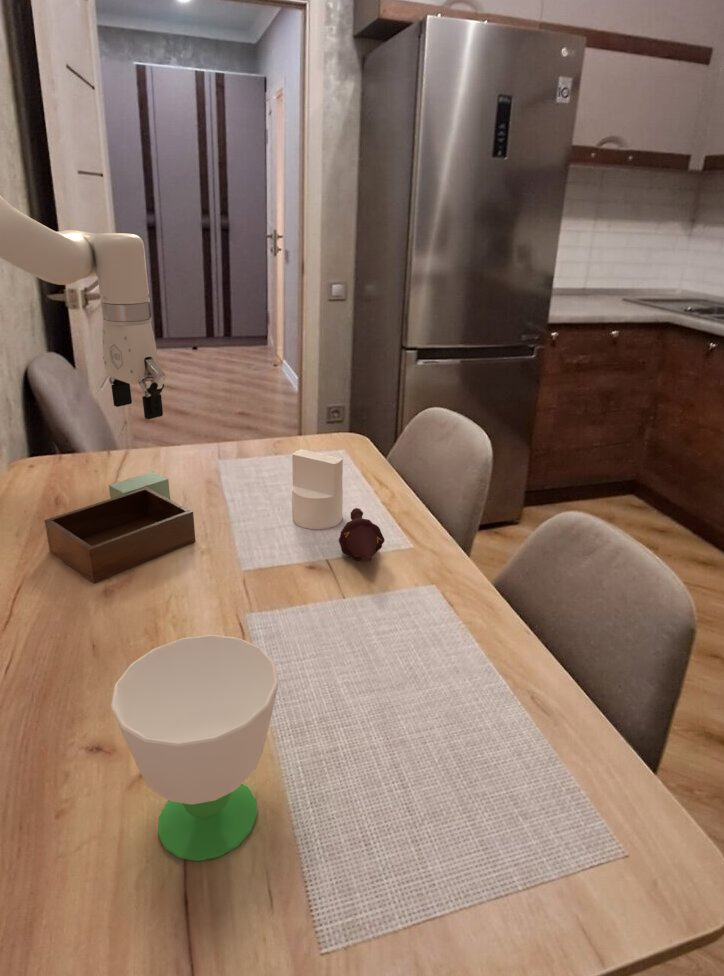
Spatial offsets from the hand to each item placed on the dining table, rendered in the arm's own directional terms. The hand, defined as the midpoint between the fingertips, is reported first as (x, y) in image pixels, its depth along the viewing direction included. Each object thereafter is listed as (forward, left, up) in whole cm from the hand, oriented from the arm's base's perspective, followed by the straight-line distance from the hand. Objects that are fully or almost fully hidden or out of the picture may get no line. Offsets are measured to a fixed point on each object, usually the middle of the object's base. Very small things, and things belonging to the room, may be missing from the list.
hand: (138, 411), depth 117 cm
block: (-1, -1, -18) cm, 18 cm away
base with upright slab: (+27, +17, -18) cm, 37 cm away
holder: (+12, -12, -18) cm, 24 cm away
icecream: (+42, +12, -18) cm, 47 cm away
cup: (+64, -34, -18) cm, 75 cm away
